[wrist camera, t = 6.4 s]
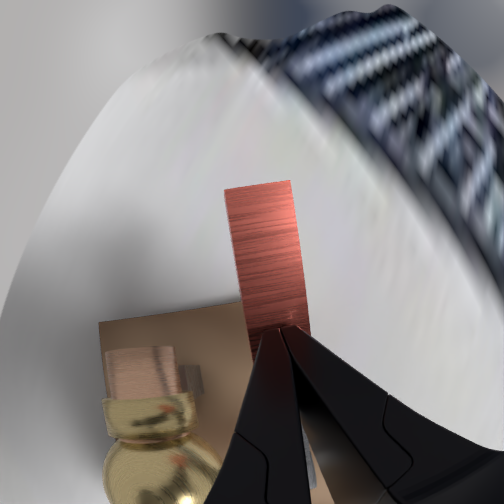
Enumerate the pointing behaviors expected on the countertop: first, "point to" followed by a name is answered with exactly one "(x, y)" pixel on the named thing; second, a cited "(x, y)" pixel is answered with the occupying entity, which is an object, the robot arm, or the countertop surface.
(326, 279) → the countertop surface
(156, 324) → the mounting board
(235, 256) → the valve lever
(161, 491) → the valve body
